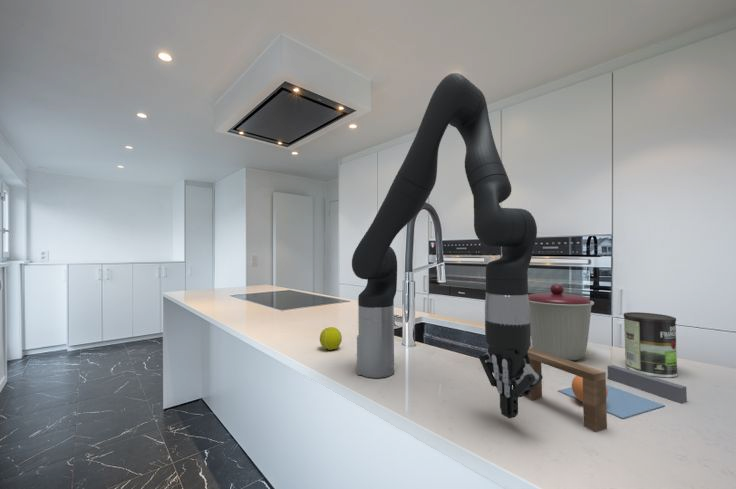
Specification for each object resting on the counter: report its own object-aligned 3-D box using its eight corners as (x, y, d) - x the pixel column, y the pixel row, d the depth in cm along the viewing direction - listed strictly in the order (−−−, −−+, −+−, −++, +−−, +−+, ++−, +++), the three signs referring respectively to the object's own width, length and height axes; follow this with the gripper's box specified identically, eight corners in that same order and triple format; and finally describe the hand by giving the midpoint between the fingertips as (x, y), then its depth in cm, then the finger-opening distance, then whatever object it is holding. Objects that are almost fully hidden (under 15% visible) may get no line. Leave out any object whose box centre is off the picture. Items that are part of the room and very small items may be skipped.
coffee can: (686, 374, 81) (684, 317, 81) (664, 380, 77) (662, 321, 77) (638, 361, 90) (637, 310, 91) (616, 367, 86) (614, 313, 87)
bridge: (595, 432, 55) (593, 374, 55) (523, 396, 69) (522, 350, 69) (607, 428, 56) (605, 372, 57) (534, 393, 70) (533, 348, 70)
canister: (517, 357, 95) (515, 285, 96) (533, 343, 109) (531, 280, 109) (591, 371, 83) (589, 289, 84) (599, 354, 97) (597, 283, 98)
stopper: (681, 403, 65) (680, 388, 65) (607, 378, 78) (607, 366, 78) (686, 401, 66) (686, 386, 66) (613, 377, 79) (612, 365, 79)
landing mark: (622, 419, 59) (622, 418, 59) (558, 391, 71) (557, 390, 71) (664, 406, 64) (664, 405, 64) (597, 382, 76) (597, 381, 76)
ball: (579, 381, 63) (599, 366, 65) (559, 382, 68) (579, 368, 70) (600, 411, 61) (621, 395, 63) (578, 410, 66) (598, 395, 68)
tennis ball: (323, 353, 100) (323, 330, 100) (317, 347, 106) (317, 326, 106) (344, 350, 103) (344, 328, 103) (337, 345, 109) (337, 324, 109)
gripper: (555, 323, 54) (557, 430, 53) (496, 310, 66) (498, 397, 65) (520, 328, 51) (523, 440, 50) (466, 313, 63) (467, 403, 63)
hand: (508, 415), depth 58 cm, fingers closed
